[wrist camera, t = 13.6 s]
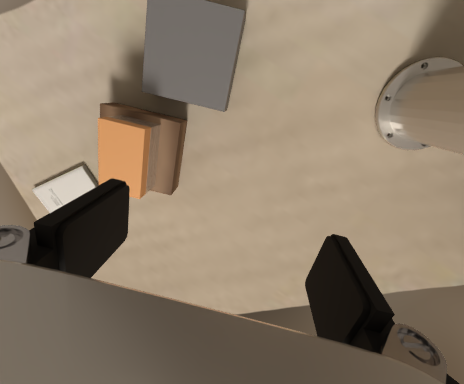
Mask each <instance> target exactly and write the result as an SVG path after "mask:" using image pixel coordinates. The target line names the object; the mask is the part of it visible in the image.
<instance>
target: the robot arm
mask: <svg viewBox="0 0 464 384" xmlns="http://www.w3.org/2000/svg"><path fill="white" fill-rule="evenodd" d="M421 65H422V67H421ZM385 97H386V99H385ZM375 122H376V127H377V130H378V132H379V134H380V136H381V137H382V138H383V139H384V140H385V141H386V142H387V143H389V144H390V145H392V146H394V147H397V148H400V149H404V150H419V149H424V148H427V147H431V146H434V147H437V148H441V149H445V150H448V151H452V152H456V153H459V154H463V155H464V66H463V65H462V64H461V63H459V62H458V61H456V60H453V59H451V58H444V57H436V58H428V59H424V60H421V61H418V62H415V63H413V64H411V65H409V66H407V67H405V68H404V69H402V70H401V71H400V72H399V73H397V74H396V75H395V76H394V77H393V78H392V79H391V80H390V81H389V82H388V84H387V85H386V87H385V88H384V89H383V91H382V93H381V95H380V97H379V99H378V103H377V106H376V112H375ZM387 134H388V135H387ZM129 192H130V188H129V186H128V185H127V184H126V182H125V181H122V180H118V179H114V178H111V179H109V180H108V181H106V182H104V183H102V184H100V185H99V186H97V187H95V188H93V189H92V190H90V191H88V192H86V193H85V194H83V195H81V196H79V197H78V198H76V199H74V200H72V201H71V202H69V203H67V204H65V205H63V206H62V207H60V208H58V209H56V210H55V211H53V212H51V213H49V214H48V215H46V216H44V217H42V218H41V219H39V220H37V221H35V222H34V228H33V229H31V230H27V229H26V228H24V227H21V226H15V225H6V226H5V225H4V226H0V384H459V383H458V382H457V381H455V380H454V379H453V378H452V377H450V376H449V375H448V374H447V364H446V360H445V358H444V356H443V354H442V353H441V351H440V350H439V349H438V348H437V346H436V345H435V344H434V343H433V342H432V341H431V340H430V339H429V338H427V337H426V336H425V335H424V334H422V333H421V332H419V331H418V330H416V329H414V328H413V327H410V326H408V325H405V324H400V323H398V324H395V323H394V321H393V320H392V317H393V316H394V313H393V311H392V309H391V308H390V306H389V305H388V303H387V302H386V300H385V298H384V297H383V295H382V293H381V292H380V290H379V289H378V287H377V285H376V284H375V282H374V281H373V279H372V277H371V276H370V274H369V273H368V271H367V269H366V268H365V266H364V264H363V263H362V261H361V260H360V258H359V256H358V255H357V253H356V252H355V250H354V248H353V247H352V245H351V244H350V242H349V240H348V239H347V238H346V237H343V236H339V235H335V234H332V235H331V236H327V237H326V239H325V241H324V243H323V245H322V247H321V249H320V251H319V253H318V256H317V258H316V260H315V262H314V264H313V266H312V268H311V270H310V272H309V274H308V276H307V278H306V282H305V287H306V291H307V295H308V300H309V304H310V308H311V312H312V316H313V320H314V324H315V327H316V331H317V336H314V335H310V334H306V333H303V332H299V331H295V330H291V329H287V328H283V327H280V326H276V325H272V324H268V323H264V322H260V321H257V320H253V319H249V318H246V317H241V316H238V315H234V314H230V313H226V312H222V311H218V310H215V309H211V308H207V307H203V306H199V305H195V304H191V303H187V302H183V301H179V300H175V299H172V298H168V297H164V296H160V295H156V294H152V293H148V292H144V291H140V290H136V289H132V288H128V287H124V286H120V285H116V284H112V283H108V282H104V281H100V280H96V279H92V278H91V277H92V276H93V275H94V274H95V273H96V272H97V270H98V269H99V268H100V267H101V266H102V265H103V264H104V263H105V262H106V261H107V260H108V258H109V257H110V256H111V255H112V254H113V253H114V252H115V251H116V250H117V249H118V248H119V246H120V245H121V244H122V243H123V242H124V241H125V239H126V237H127V234H128V214H129Z"/></svg>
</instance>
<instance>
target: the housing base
mask: <svg viewBox="0 0 464 384" xmlns="http://www.w3.org/2000/svg"><path fill="white" fill-rule="evenodd" d="M110 117H111V118H115V119H119V120H123V121H127V122H131V123H135V124H140V125H144V126H148V127H151V135H150V148H149V160H148V172H147V184H146V193H147V192H148V191H149V190H150V189H152V188H153V187H154V186H155V179H156V169H157V158H158V148H159V138H160V127H161V124H157V123H152V122H148V121H144V120H140V119H136V118H132V117H128V116H124V115H117V116H110Z"/></svg>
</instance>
